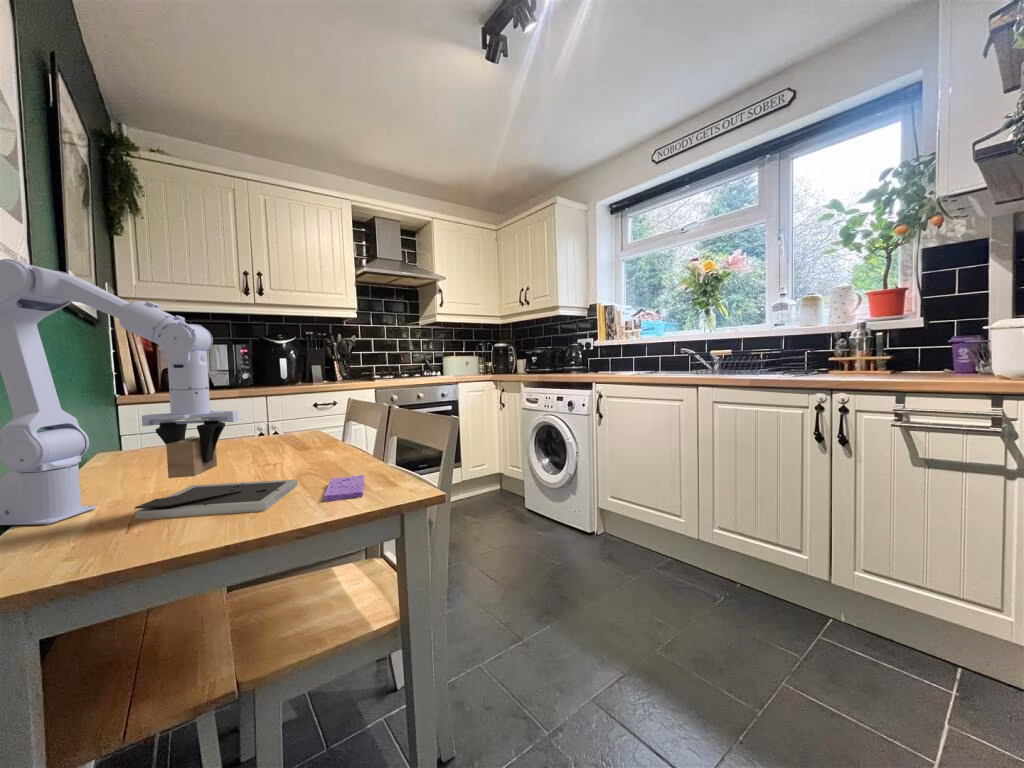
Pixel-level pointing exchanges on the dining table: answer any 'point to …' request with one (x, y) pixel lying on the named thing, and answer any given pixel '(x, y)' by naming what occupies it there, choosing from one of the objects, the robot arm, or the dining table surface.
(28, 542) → the dining table surface
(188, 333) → the robot arm
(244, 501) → the picture frame
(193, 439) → the walnut block
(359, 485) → the sponges
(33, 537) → the dining table surface
